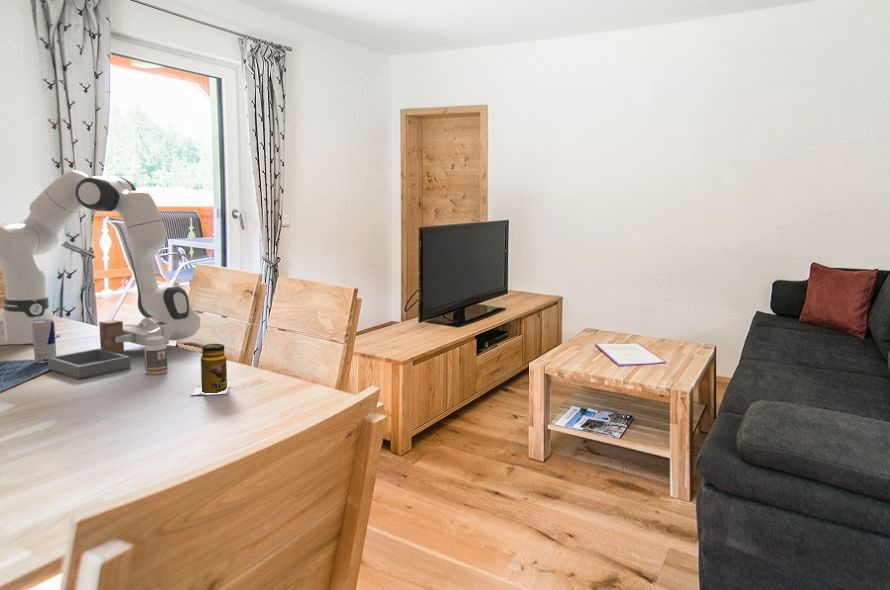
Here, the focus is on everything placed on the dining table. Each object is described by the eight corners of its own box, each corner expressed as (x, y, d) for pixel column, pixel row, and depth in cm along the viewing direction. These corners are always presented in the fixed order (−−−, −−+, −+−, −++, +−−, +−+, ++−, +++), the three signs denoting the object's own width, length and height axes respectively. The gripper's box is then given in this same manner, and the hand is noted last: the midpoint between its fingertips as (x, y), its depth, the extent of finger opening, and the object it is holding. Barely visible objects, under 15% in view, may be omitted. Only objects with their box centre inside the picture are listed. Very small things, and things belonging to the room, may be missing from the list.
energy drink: (61, 359, 176) (58, 319, 174) (47, 364, 171) (44, 323, 169) (44, 358, 177) (41, 318, 175) (30, 363, 171) (27, 322, 170)
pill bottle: (172, 371, 167) (171, 337, 166) (154, 376, 162) (153, 340, 161) (158, 368, 170) (156, 334, 168) (140, 373, 165) (138, 338, 163)
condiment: (226, 395, 148) (225, 348, 147) (190, 396, 147) (188, 349, 145) (230, 386, 155) (229, 341, 154) (195, 387, 154) (194, 342, 152)
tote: (48, 369, 165) (47, 357, 165) (99, 359, 177) (98, 348, 177) (79, 379, 157) (78, 367, 157) (130, 368, 169) (130, 356, 168)
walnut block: (101, 357, 180) (99, 321, 178) (115, 354, 184) (114, 319, 182) (109, 359, 177) (107, 323, 176) (124, 356, 181) (122, 321, 180)
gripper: (132, 317, 195) (89, 323, 184) (170, 325, 185) (127, 332, 173) (133, 336, 196) (90, 343, 185) (171, 345, 186) (128, 353, 174)
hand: (108, 338), depth 179 cm, fingers closed on walnut block, 4 cm apart
